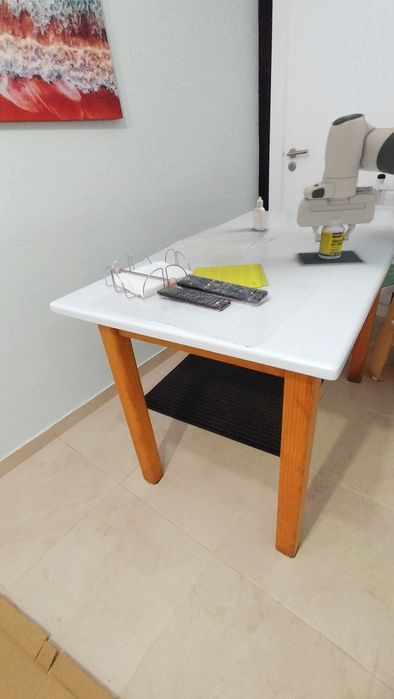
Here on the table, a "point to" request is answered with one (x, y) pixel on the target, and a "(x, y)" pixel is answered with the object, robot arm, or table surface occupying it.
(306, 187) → the robot arm
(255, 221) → the eye dropper bottle
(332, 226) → the pill bottle
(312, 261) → the mat
